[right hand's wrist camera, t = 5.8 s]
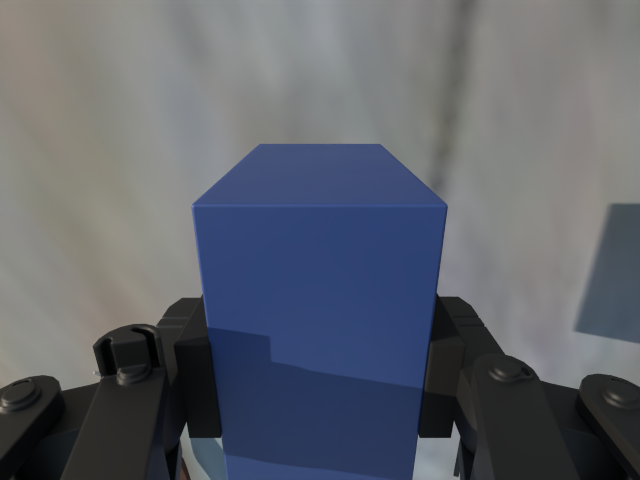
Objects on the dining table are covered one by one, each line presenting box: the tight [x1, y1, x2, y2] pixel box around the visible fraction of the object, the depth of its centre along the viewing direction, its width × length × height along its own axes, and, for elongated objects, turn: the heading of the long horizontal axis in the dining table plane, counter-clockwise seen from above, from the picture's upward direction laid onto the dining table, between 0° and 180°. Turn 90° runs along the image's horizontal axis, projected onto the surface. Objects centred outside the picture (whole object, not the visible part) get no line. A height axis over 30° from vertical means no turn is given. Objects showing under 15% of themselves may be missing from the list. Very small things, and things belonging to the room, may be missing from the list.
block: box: [192, 144, 448, 480], centre depth 13 cm, size 9×5×8 cm, turn 0°
